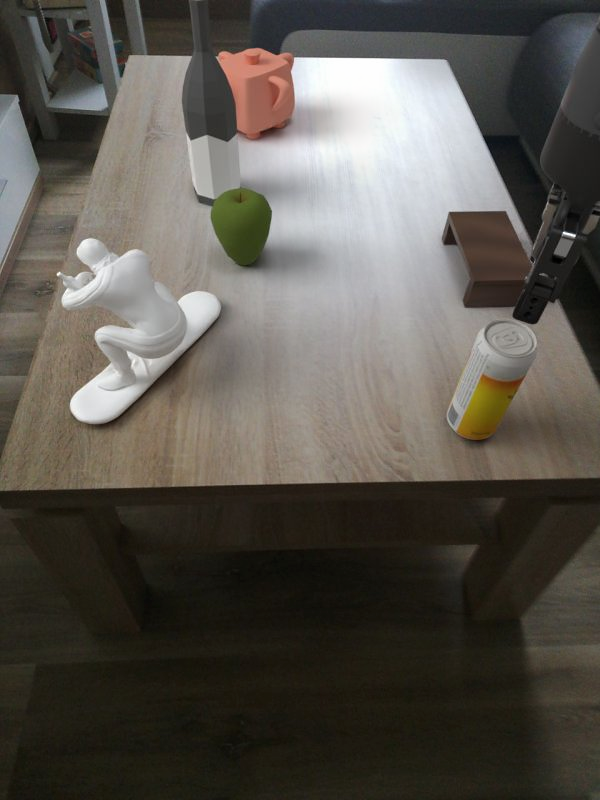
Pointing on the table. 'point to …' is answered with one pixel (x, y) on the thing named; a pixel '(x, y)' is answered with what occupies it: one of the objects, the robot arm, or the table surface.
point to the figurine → (145, 311)
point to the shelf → (488, 257)
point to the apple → (241, 223)
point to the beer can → (491, 377)
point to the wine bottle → (209, 115)
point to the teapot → (260, 88)
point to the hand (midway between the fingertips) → (532, 289)
